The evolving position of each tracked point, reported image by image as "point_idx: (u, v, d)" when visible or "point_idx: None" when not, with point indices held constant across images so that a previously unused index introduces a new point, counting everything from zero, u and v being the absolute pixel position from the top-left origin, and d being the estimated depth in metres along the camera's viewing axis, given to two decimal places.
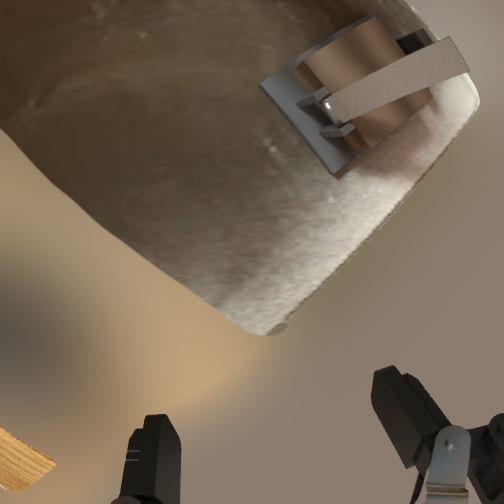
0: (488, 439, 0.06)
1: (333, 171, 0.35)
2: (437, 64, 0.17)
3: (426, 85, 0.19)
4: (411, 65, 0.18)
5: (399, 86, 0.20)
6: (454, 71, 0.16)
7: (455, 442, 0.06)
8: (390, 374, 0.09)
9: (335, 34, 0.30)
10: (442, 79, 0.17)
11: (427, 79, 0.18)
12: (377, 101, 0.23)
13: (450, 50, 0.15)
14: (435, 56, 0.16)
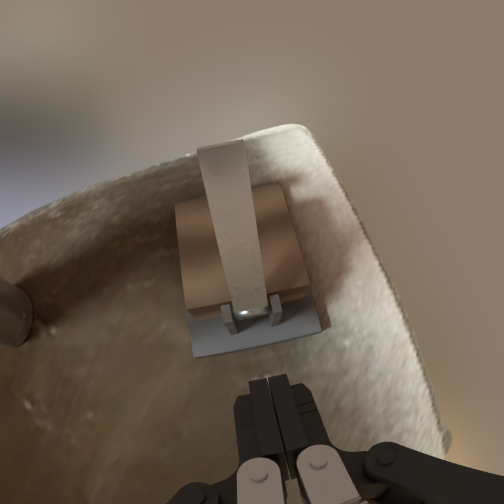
0: (373, 477, 0.06)
1: (318, 329, 0.32)
2: (228, 178, 0.20)
3: (251, 200, 0.21)
4: (222, 209, 0.21)
5: (244, 232, 0.22)
6: (240, 160, 0.19)
7: (321, 462, 0.07)
8: (278, 382, 0.10)
9: None
10: (247, 178, 0.20)
11: (243, 197, 0.21)
12: (255, 262, 0.24)
13: (213, 155, 0.19)
14: (217, 176, 0.19)
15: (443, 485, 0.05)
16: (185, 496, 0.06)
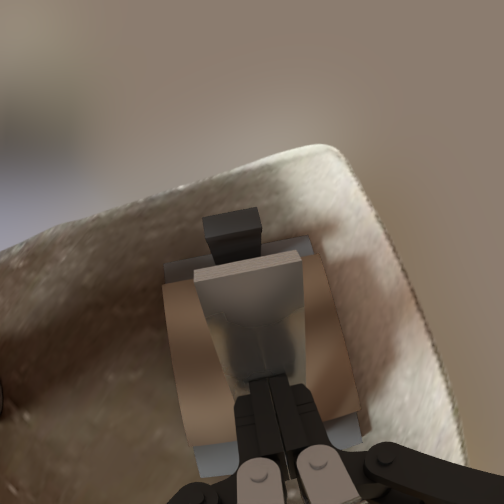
0: (373, 476, 0.06)
1: (359, 441, 0.21)
2: (262, 329, 0.09)
3: (302, 358, 0.11)
4: (249, 373, 0.11)
5: None
6: (291, 297, 0.09)
7: (321, 462, 0.07)
8: (278, 382, 0.10)
9: None
10: (301, 327, 0.10)
11: (290, 354, 0.10)
12: None
13: (232, 290, 0.09)
14: (240, 328, 0.09)
15: (443, 485, 0.05)
16: (185, 496, 0.06)
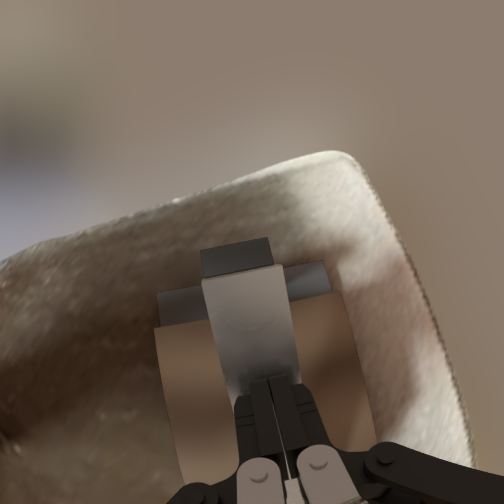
0: (373, 476, 0.06)
1: None
2: (257, 332, 0.11)
3: (296, 369, 0.12)
4: (248, 385, 0.11)
5: None
6: (277, 299, 0.11)
7: (321, 462, 0.07)
8: (278, 382, 0.10)
9: None
10: (290, 332, 0.11)
11: (284, 363, 0.11)
12: None
13: (230, 290, 0.11)
14: (238, 329, 0.11)
15: (443, 485, 0.05)
16: (185, 496, 0.06)
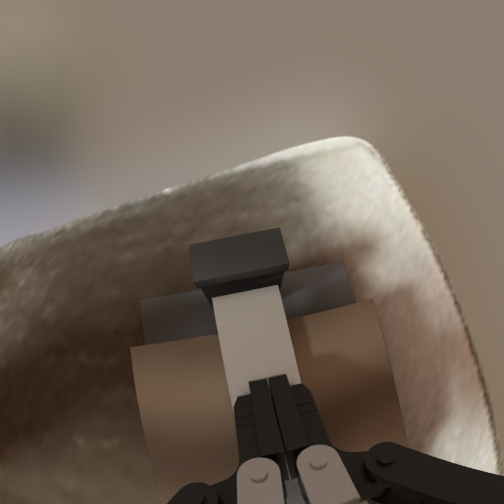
0: (373, 476, 0.06)
1: None
2: (258, 341, 0.13)
3: (297, 378, 0.12)
4: None
5: None
6: (275, 312, 0.13)
7: (321, 462, 0.07)
8: (278, 382, 0.10)
9: None
10: (288, 341, 0.13)
11: (284, 371, 0.12)
12: None
13: (235, 304, 0.13)
14: (241, 337, 0.13)
15: (443, 485, 0.05)
16: (185, 496, 0.06)
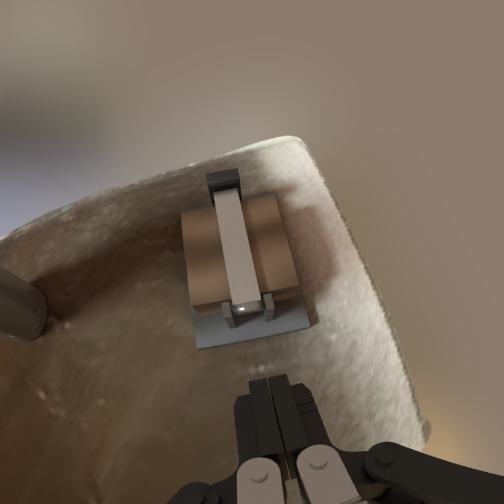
0: (373, 476, 0.06)
1: (307, 325, 0.36)
2: (229, 205, 0.37)
3: (242, 216, 0.36)
4: (225, 221, 0.36)
5: (238, 235, 0.35)
6: (235, 196, 0.37)
7: (321, 462, 0.07)
8: (278, 382, 0.10)
9: None
10: (239, 205, 0.37)
11: (237, 214, 0.36)
12: (247, 257, 0.34)
13: (221, 194, 0.37)
14: (223, 204, 0.37)
15: (443, 485, 0.05)
16: (185, 496, 0.06)
